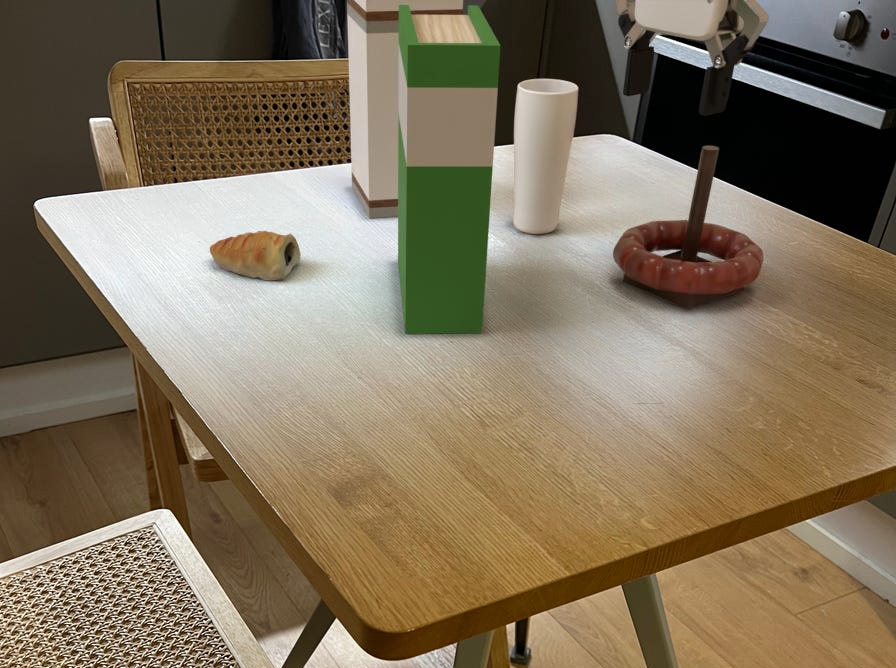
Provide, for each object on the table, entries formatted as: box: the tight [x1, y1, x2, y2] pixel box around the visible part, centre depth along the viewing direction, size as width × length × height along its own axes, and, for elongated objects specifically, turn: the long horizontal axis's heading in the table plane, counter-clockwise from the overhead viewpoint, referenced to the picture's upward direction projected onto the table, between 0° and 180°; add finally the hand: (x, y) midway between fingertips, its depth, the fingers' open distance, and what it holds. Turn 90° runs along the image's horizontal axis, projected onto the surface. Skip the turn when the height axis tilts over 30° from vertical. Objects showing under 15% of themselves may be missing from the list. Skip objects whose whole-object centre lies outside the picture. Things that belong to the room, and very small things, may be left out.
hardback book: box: [397, 4, 501, 335], centre depth 91 cm, size 18×7×24 cm, turn 3°
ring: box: [612, 219, 765, 295], centre depth 101 cm, size 15×15×3 cm
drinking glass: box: [512, 78, 579, 235], centre depth 110 cm, size 7×7×15 cm
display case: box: [346, 0, 464, 219], centre depth 110 cm, size 11×11×35 cm
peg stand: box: [622, 145, 746, 311], centre depth 98 cm, size 9×9×14 cm
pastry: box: [209, 230, 301, 281], centre depth 103 cm, size 9×7×4 cm
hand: (672, 103), depth 95 cm, fingers open, 9 cm apart
